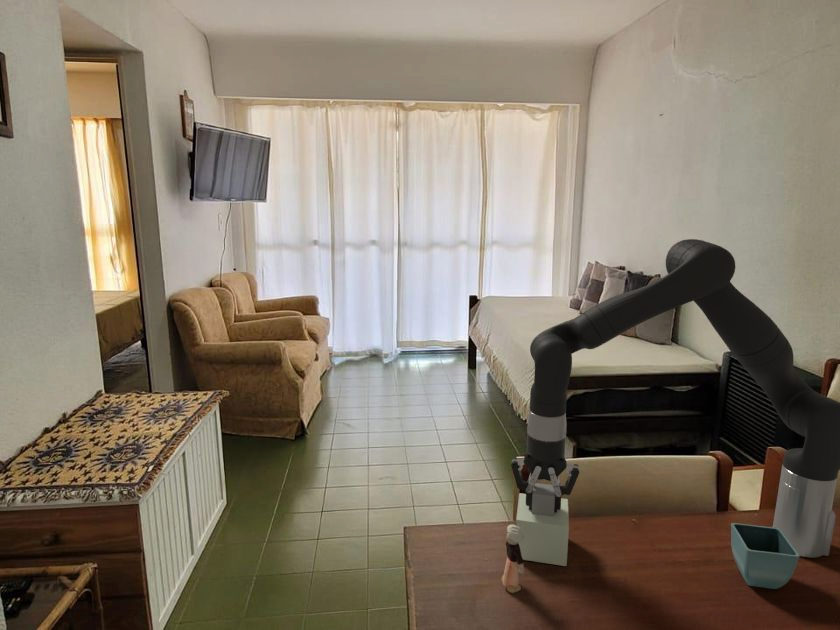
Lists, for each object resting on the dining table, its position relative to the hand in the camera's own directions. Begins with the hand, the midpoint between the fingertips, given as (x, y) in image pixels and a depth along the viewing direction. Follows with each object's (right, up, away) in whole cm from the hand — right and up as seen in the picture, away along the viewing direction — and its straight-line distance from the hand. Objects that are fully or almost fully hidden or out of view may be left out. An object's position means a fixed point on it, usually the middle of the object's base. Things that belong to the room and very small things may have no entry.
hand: (542, 508), depth 110 cm
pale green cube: (0, -9, +2) cm, 9 cm away
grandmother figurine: (-8, -12, -9) cm, 17 cm away
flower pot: (+40, -11, -8) cm, 42 cm away
